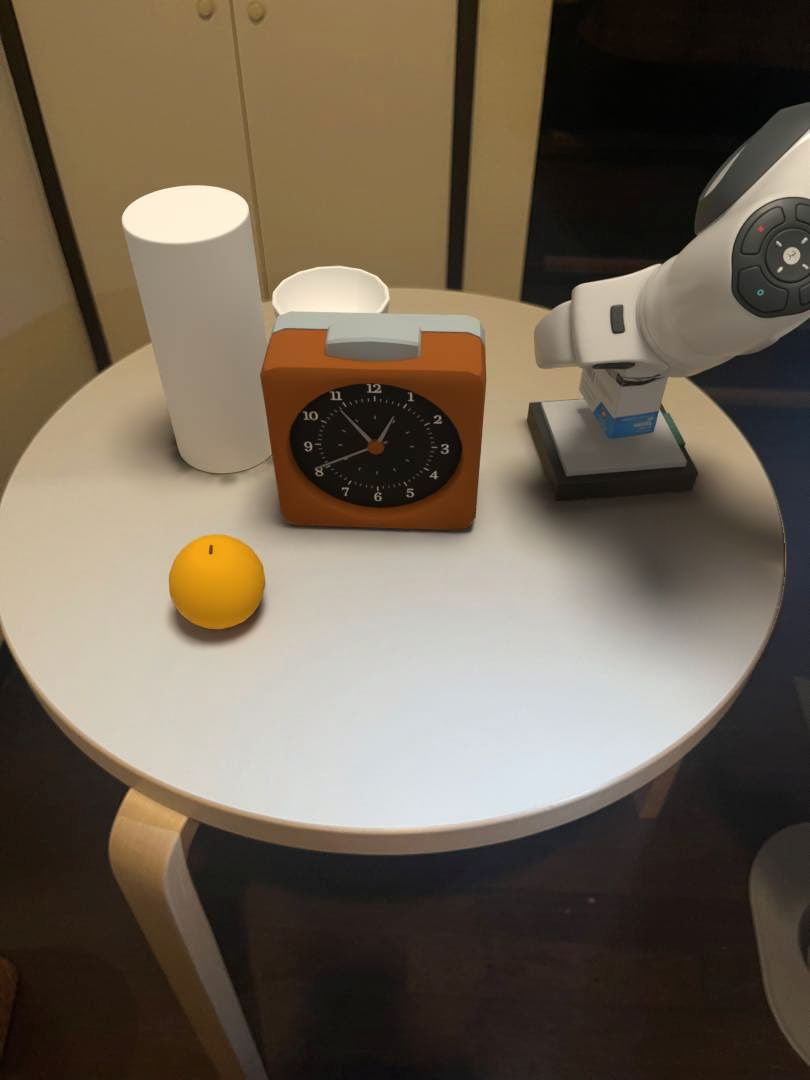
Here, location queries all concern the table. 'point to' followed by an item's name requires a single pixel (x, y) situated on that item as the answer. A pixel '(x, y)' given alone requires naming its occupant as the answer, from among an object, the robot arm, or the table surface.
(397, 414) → the alarm clock
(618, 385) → the ink box
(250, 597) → the orange fruit with stem
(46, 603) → the table surface
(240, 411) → the tall pillar cylinder
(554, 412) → the scale
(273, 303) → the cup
